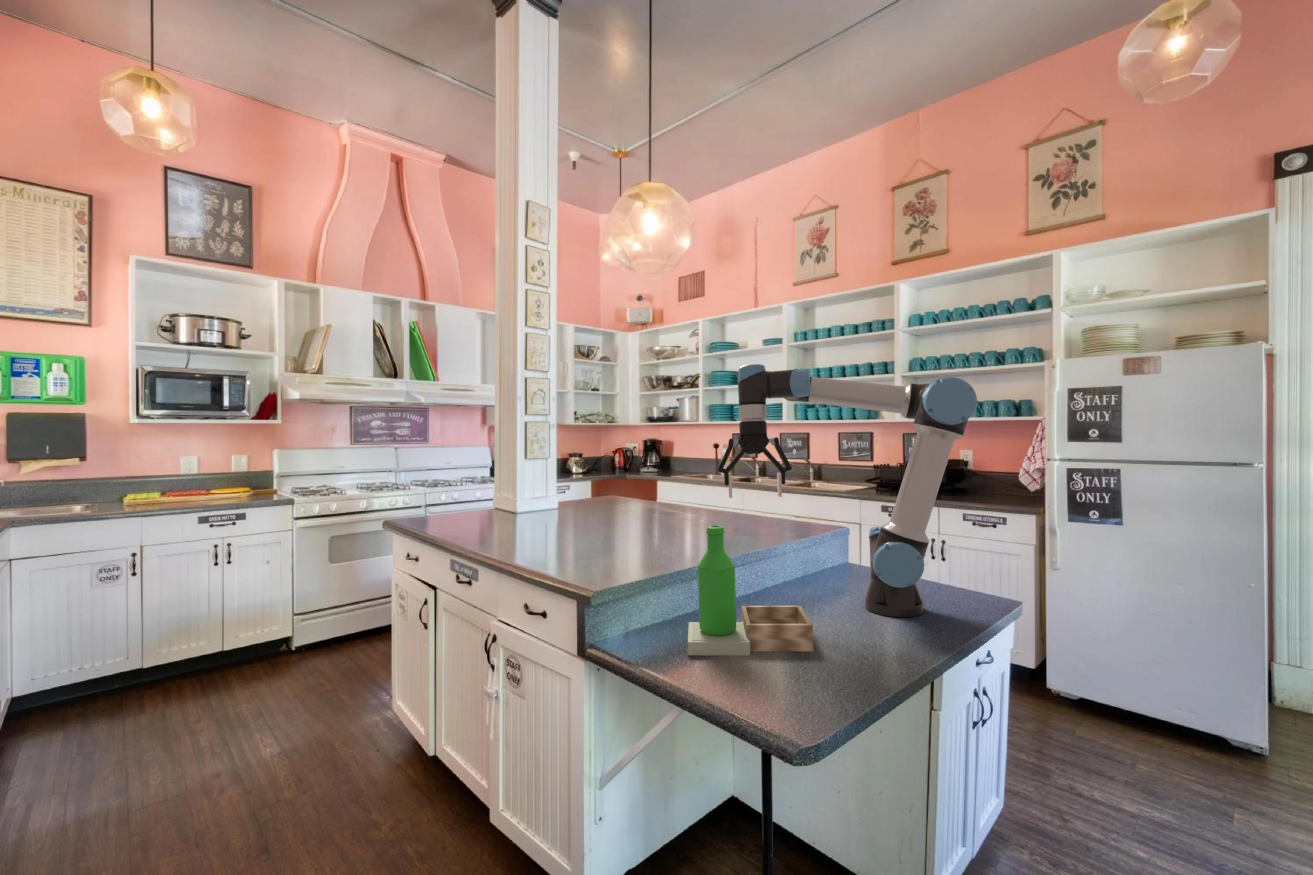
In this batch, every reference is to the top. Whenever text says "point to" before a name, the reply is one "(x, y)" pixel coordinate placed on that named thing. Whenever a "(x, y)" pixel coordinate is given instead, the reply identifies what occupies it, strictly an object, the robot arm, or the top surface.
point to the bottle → (716, 587)
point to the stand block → (718, 642)
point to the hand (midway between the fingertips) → (755, 496)
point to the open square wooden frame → (777, 628)
